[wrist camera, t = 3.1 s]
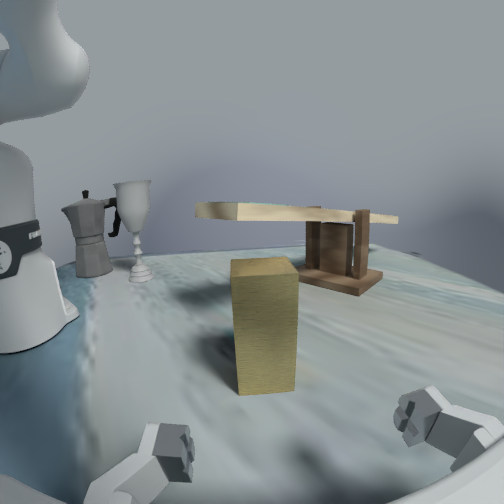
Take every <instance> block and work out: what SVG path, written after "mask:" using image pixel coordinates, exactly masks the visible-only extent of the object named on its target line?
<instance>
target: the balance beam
mask: <svg viewBox="0 0 504 504" xmlns="http://www.w3.org/2000/svg"><path fill="white" fill-rule="evenodd" d="M195 217H200V218H211V219H224V220H235V221H334V222H335V221H336V222H355V212H351V211H340V210H331V209H320V208H309V207H295V206H289V205H281V204H266V203H250V202H208V203H196V209H195ZM370 223H395V224H397V223H398V217H396V216H391V215H382V214H371V213H370Z"/></svg>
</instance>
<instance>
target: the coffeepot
mask: <svg viewBox="0 0 504 504" xmlns="http://www.w3.org/2000/svg"><path fill="white" fill-rule="evenodd" d="M88 192H89V191H87V190H85V191H82V194H83V198H84V199H82V200H81V201H78V202H76V203H74V204H72V205H69V206H67V207H65V208H62V210H61V211H62V212H64V214H65V215H66V216H67V218H68V220H69V221H70V224H71V228H72V232H73V236H74V237H75V241H76V244H77V245H76V276H77V277H80V278H92V277H98V276H102V275H105V274H107V273H109V272H111V271H112V270H113V269H112V266H111V262H110V259H109V256H108V252H107V248H106V245H105V241H104V237H103V233H104V215H105V214H104V213H105V208H109V207H112V206H115V207H116V211H115V220H114V223H113V232H112V233H108V235H109V237H115V236H117V235H118V232H119V227H120V222H121V218H120V216H119V213H118V211H117V198H110V199H105V200H100V201H99V200H94V199H89V198H88Z"/></svg>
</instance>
